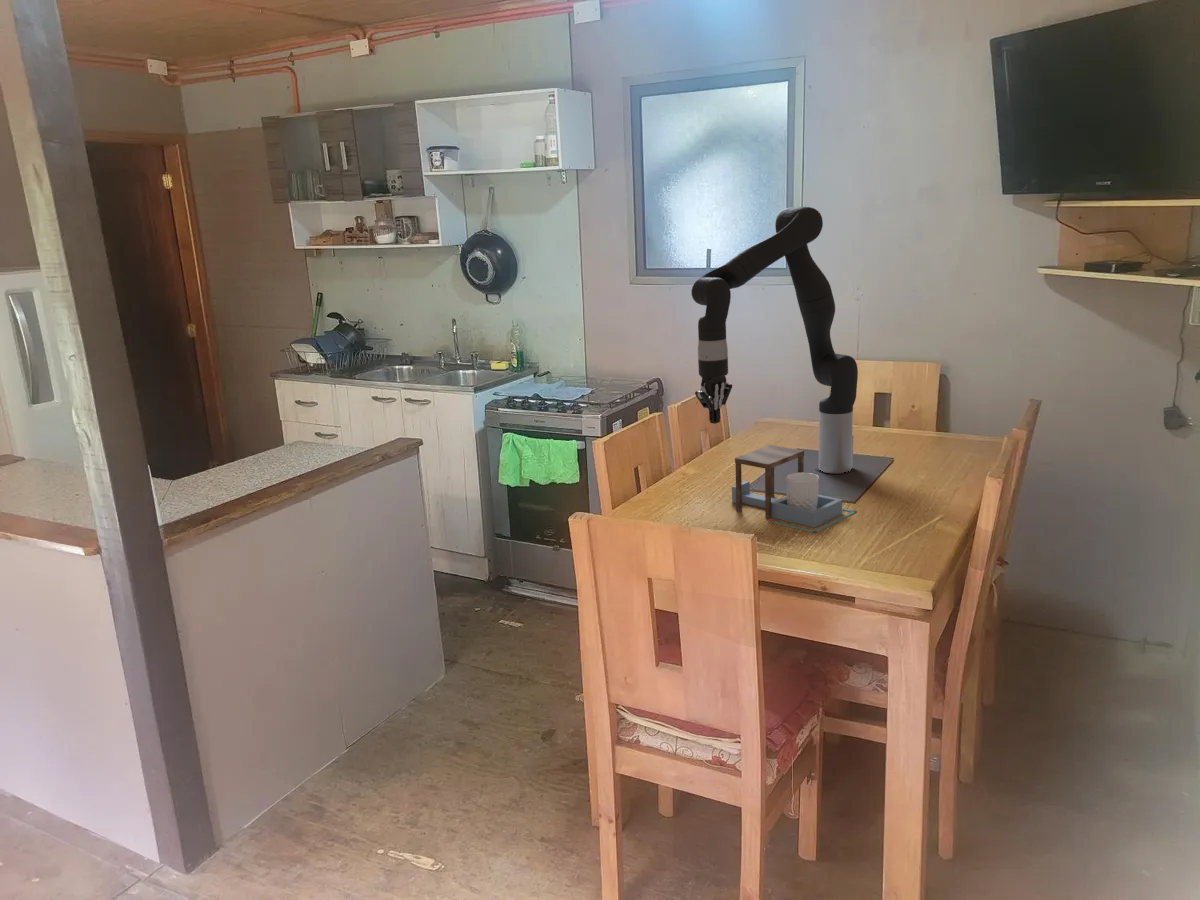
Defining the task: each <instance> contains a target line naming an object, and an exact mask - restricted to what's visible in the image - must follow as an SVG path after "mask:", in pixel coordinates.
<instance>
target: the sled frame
mask: <svg viewBox="0 0 1200 900" xmlns="http://www.w3.org/2000/svg"><path fill="white" fill-rule="evenodd" d="M750 489H751V483H750V481H748V480H744V481H742V504H744V505H745V504H746V505H751V506H754V507H758V508H764V509H765V495H761V494H757V493H753V492H751V490H750ZM731 503H732V504H735V505H736V484H735V485H733V486H731ZM842 508H843V499H840V498H837V497H831V496H826V495H821V494H818V503H817V509H816V510H814V511H812V510H808V509H803V508H799V507H795V506H790V505H787V495H786V496H784V497H782V498H780V499H779V498H776V497H773V498H771V518H773V519H778V520H782V521H786V522H790V523H794V524H798V525H802V526H806V527H812V528H816V527H818V526H820V525H823V524H825V523H826V522H829V521H831V520H832V519H835V518H837V517H839V516H841V515H843V510H842Z"/></svg>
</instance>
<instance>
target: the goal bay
mask: <svg viewBox="0 0 1200 900" xmlns="http://www.w3.org/2000/svg"><path fill="white" fill-rule="evenodd" d="M843 511H844V512H848V513H846V514H845V515H842V516H840V517H838V518H837V519H835V520H832V521H830V522H829V523H826V524H825V525H823V526H821V527H818V528H817V529H815V530H814V529H809V528H805V527H800V526H797V525H793V524H788V523H785V522H780V521H775V520H774V521H773V524H776V525H780V526H784V527H786V528H787V527H788V528H793V529H796V530H800V531H805V532H808V533H812V534H817V533H819V532H821V531H823V530H825V529H826V528H829V527H831V526H833V525H835V524H836V523H839V522H840V521H842V520H844V519H847V518H848V517H851V516H852V515H854V514H857V512H858V511H856V510H853V509H848V508H843V507H842V512H843Z"/></svg>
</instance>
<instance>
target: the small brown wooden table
mask: <svg viewBox="0 0 1200 900" xmlns="http://www.w3.org/2000/svg"><path fill="white" fill-rule="evenodd" d="M804 456H805V450H802V449H796V448H792V447H785V446H778V445H774V444H770V445H767V446H764V447H762V448H758V449H756V450H753V451H751V452H747V453H745V454H742V455H738V456H736V457H735V458H734V463H735V485H736V504H735V510H736V512H737V513H741V512H743V503H742V482H743V481H742V465H745V466H751V467H755V468H760V469H764V470H765V471H764V475H765V476H764V496H765V508H764V509H765V511H764V513H765V515H764V516H765V517H764V518H765V519H768V520H770V519H772V517H771V498H775V468H776V467H778V466H781V465H784V464H786V463H788V462H790V461H794V460H796V459H797V473H798V472H805V471H804V470H805V469H804V461H805V460H804V459H805V458H804Z"/></svg>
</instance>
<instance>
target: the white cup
mask: <svg viewBox="0 0 1200 900" xmlns="http://www.w3.org/2000/svg"><path fill="white" fill-rule="evenodd" d="M819 484H820V475H818V474H816V473H811V472H805V471H804V472H798V471H797V472H792V473H789V474H786V476H785V487H786V488H785V490H786V492H785V493H786V496H787V505H790V506H795V507H799V508H803V509H808V510H812V511H814V510H816V509H817V503H818V495H819Z"/></svg>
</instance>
